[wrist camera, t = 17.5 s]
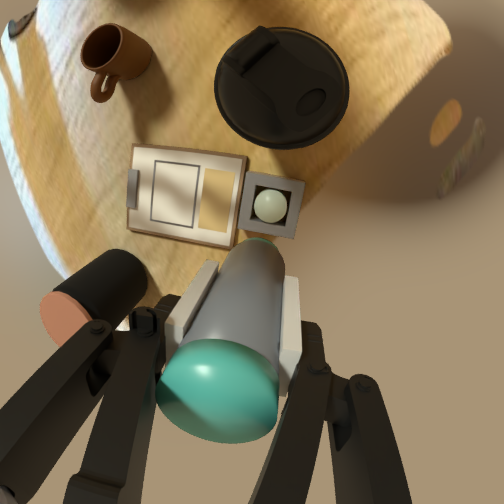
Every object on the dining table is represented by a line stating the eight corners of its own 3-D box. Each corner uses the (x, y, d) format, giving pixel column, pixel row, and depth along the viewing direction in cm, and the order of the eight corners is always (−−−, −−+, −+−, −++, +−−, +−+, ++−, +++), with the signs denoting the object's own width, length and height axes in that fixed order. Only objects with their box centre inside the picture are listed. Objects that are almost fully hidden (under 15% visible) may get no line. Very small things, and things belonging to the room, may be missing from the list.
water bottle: (284, 163, 40) (282, 183, 18) (232, 114, 38) (171, 82, 16) (335, 115, 36) (390, 83, 15) (282, 66, 35) (276, -14, 13)
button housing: (248, 170, 40) (246, 172, 38) (304, 181, 40) (305, 183, 38) (240, 223, 43) (237, 228, 41) (293, 233, 43) (293, 239, 41)
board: (134, 143, 41) (129, 143, 39) (247, 156, 40) (246, 156, 38) (128, 227, 46) (124, 230, 44) (233, 248, 45) (231, 251, 43)
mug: (144, 106, 38) (111, 100, 30) (105, 107, 39) (69, 103, 30) (157, 37, 34) (129, 18, 25) (118, 41, 34) (86, 27, 26)
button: (259, 184, 41) (257, 187, 38) (289, 190, 41) (289, 194, 38) (254, 214, 43) (251, 219, 40) (283, 219, 42) (283, 225, 40)
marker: (234, 226, 21) (154, 350, 8) (292, 240, 21) (293, 386, 8) (224, 278, 23) (156, 424, 10) (277, 292, 23) (260, 451, 10)
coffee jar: (99, 288, 51) (44, 339, 34) (103, 238, 47) (35, 281, 30) (146, 308, 51) (98, 370, 34) (154, 257, 47) (96, 313, 30)
